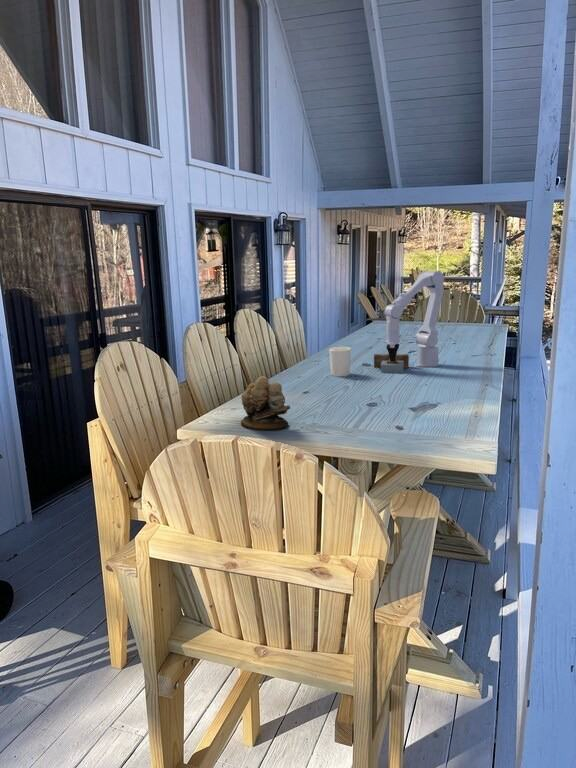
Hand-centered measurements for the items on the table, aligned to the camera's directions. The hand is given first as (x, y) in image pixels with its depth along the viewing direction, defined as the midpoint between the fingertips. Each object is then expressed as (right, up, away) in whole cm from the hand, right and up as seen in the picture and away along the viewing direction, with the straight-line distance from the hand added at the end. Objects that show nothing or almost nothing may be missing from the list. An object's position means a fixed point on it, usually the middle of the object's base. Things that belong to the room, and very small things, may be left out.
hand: (392, 360), depth 252 cm
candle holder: (-25, -7, -3) cm, 26 cm away
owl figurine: (-56, -25, -70) cm, 93 cm away
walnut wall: (+1, -3, +8) cm, 8 cm away
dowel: (0, -3, +1) cm, 3 cm away
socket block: (0, -5, +1) cm, 5 cm away
